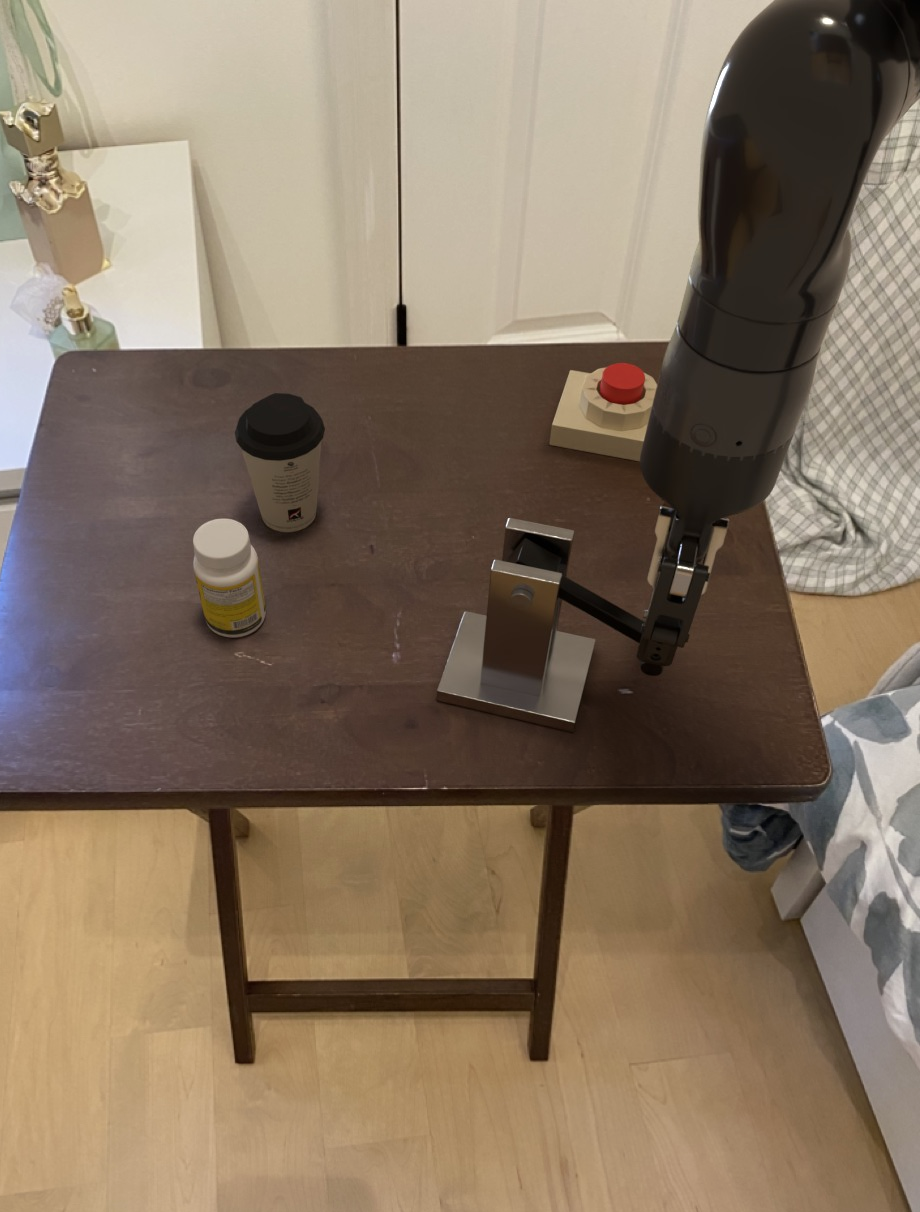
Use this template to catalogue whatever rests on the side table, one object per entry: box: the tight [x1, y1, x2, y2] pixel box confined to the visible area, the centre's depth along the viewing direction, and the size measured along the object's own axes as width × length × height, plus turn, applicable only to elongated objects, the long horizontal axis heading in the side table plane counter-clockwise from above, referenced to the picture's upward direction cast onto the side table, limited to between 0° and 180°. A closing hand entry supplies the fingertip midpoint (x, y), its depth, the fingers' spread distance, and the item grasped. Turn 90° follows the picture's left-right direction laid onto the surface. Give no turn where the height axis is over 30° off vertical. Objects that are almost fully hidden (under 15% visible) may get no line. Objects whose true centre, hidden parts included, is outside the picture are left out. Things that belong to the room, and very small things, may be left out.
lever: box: [507, 538, 665, 677], centre depth 72 cm, size 12×5×2 cm, turn 73°
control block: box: [549, 366, 657, 462], centre depth 95 cm, size 10×8×4 cm
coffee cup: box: [234, 392, 326, 533], centre depth 86 cm, size 7×7×10 cm
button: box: [600, 362, 645, 405], centre depth 93 cm, size 4×4×2 cm
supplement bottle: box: [192, 518, 267, 638], centre depth 80 cm, size 5×5×8 cm
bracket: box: [436, 517, 596, 733], centre depth 75 cm, size 10×8×13 cm
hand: (663, 611), depth 70 cm, fingers open, 8 cm apart
